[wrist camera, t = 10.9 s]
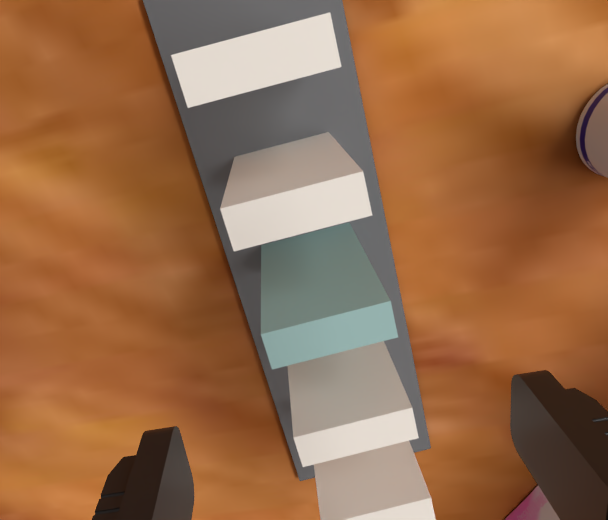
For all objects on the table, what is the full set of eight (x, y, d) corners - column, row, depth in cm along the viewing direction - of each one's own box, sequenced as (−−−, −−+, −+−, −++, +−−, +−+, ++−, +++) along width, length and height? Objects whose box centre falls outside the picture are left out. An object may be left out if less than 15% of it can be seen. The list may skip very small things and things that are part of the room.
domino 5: (304, 391, 33) (321, 525, 23) (382, 371, 32) (430, 497, 23) (310, 411, 33) (329, 550, 24) (387, 392, 33) (436, 524, 24)
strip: (142, -5, 25) (140, -6, 24) (329, -56, 24) (330, -57, 24) (299, 476, 36) (299, 481, 35) (429, 444, 35) (430, 448, 35)
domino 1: (204, 55, 25) (170, 55, 16) (305, 28, 25) (330, 12, 16) (214, 89, 26) (187, 108, 17) (312, 63, 26) (341, 67, 16)
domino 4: (284, 322, 31) (293, 437, 21) (366, 301, 31) (412, 407, 21) (290, 345, 31) (302, 467, 22) (372, 324, 31) (418, 438, 22)
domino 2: (234, 156, 27) (220, 208, 18) (328, 131, 27) (363, 171, 18) (243, 186, 28) (233, 251, 18) (335, 162, 28) (372, 215, 18)
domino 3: (261, 245, 29) (260, 334, 20) (349, 222, 29) (390, 300, 20) (268, 271, 30) (272, 369, 20) (355, 248, 29) (398, 337, 20)
